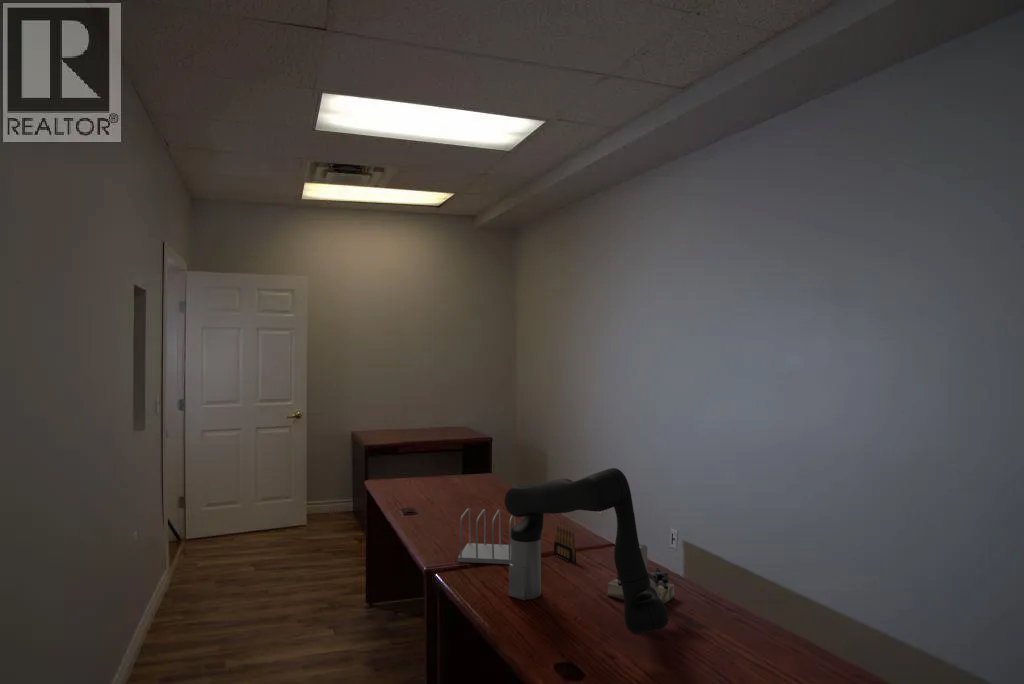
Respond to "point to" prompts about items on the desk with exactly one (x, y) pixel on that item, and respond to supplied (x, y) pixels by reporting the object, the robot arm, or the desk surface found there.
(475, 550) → the file sorter
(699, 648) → the desk surface
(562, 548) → the ammunition clip
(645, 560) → the steel pin
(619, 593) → the socket block
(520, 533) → the robot arm
